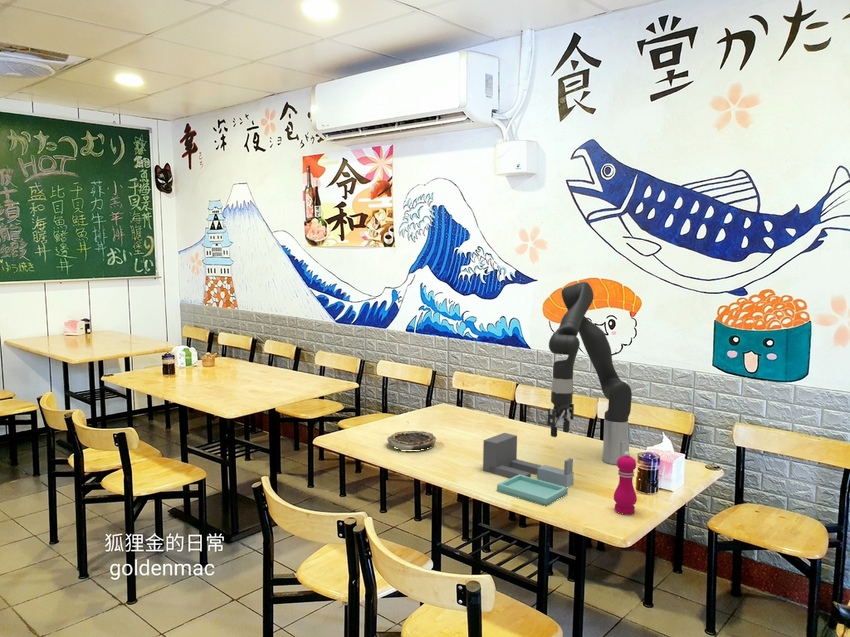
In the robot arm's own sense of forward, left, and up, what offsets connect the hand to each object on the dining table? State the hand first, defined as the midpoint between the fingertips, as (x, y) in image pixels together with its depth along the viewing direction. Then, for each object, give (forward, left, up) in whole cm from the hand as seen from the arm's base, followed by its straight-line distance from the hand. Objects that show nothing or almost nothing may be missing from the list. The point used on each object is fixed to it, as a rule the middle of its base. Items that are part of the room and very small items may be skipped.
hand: (559, 434), depth 237 cm
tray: (+3, +14, -19) cm, 23 cm away
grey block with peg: (+2, -1, -19) cm, 19 cm away
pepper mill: (-28, +7, -19) cm, 35 cm away
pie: (+71, +2, -20) cm, 74 cm away
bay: (+20, 0, -19) cm, 27 cm away
